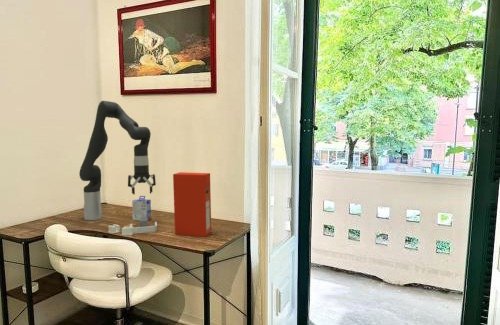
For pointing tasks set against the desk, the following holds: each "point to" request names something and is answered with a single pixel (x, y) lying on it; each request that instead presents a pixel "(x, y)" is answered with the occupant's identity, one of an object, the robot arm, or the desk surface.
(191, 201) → the file binder
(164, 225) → the desk surface
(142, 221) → the connector
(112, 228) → the clip
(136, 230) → the bracket
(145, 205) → the ink cartridge box
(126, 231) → the clip
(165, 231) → the desk surface
